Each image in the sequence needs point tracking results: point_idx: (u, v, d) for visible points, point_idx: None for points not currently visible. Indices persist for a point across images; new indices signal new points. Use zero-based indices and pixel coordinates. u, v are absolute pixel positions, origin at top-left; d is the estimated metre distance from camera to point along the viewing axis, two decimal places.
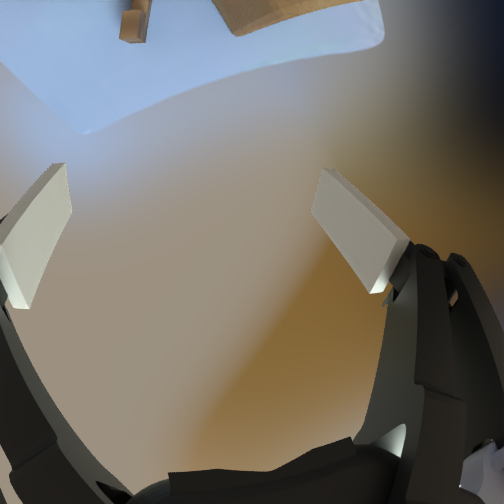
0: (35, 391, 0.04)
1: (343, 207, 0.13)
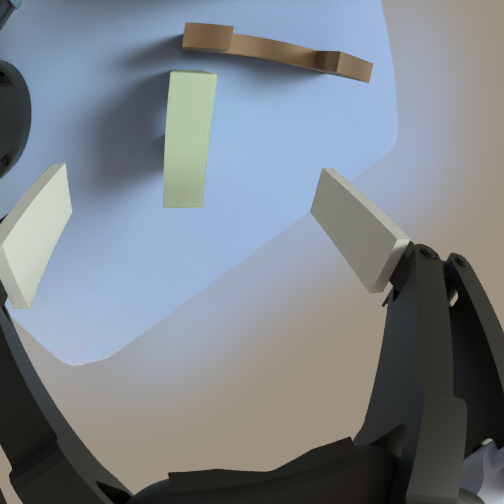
0: (35, 391, 0.04)
1: (343, 207, 0.13)
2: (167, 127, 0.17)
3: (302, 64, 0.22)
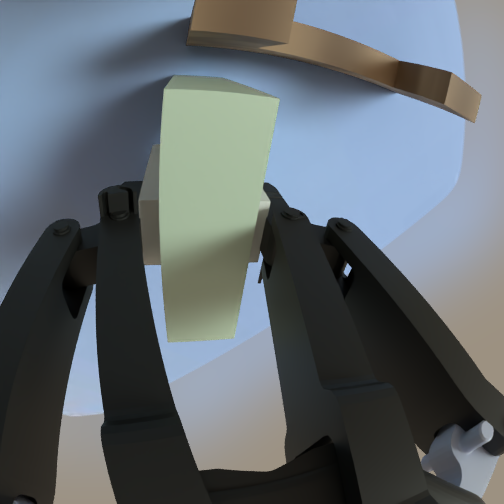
0: None
1: None
2: (163, 220, 0.08)
3: (379, 79, 0.14)
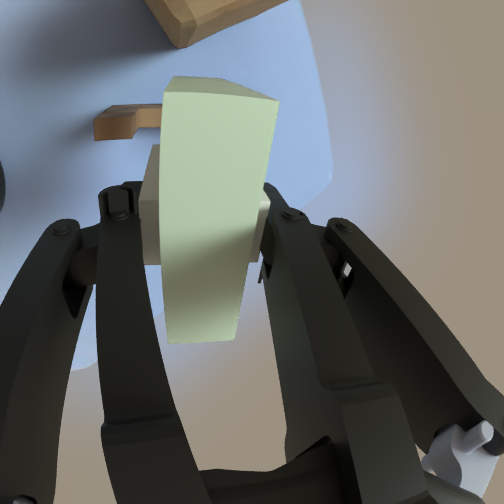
0: None
1: None
2: (163, 222, 0.08)
3: None
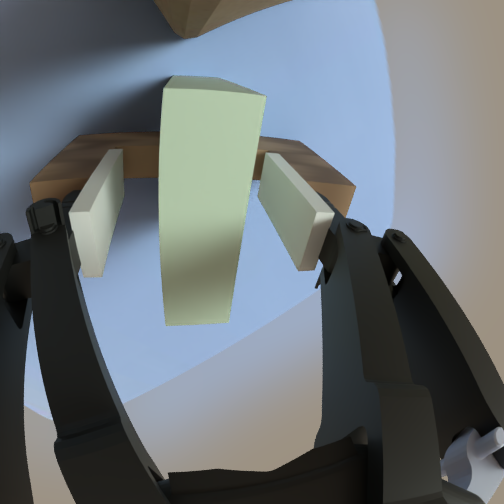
0: (102, 367, 0.05)
1: (279, 187, 0.13)
2: (162, 206, 0.09)
3: None
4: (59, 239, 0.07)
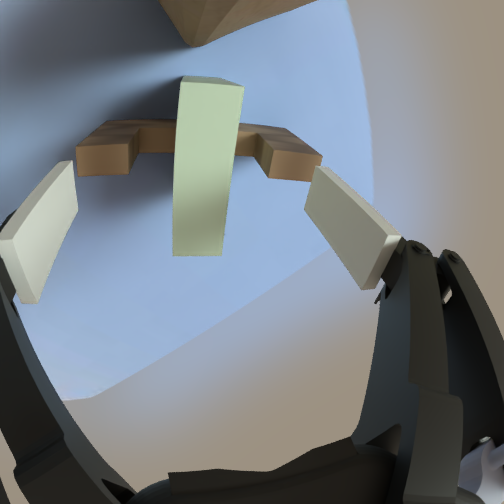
0: (42, 387, 0.04)
1: (336, 204, 0.13)
2: (176, 157, 0.13)
3: (238, 153, 0.21)
4: None
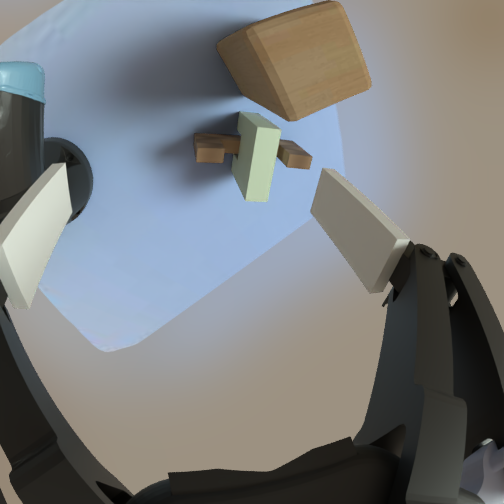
0: (35, 391, 0.04)
1: (343, 207, 0.13)
2: (253, 156, 0.33)
3: None
4: None
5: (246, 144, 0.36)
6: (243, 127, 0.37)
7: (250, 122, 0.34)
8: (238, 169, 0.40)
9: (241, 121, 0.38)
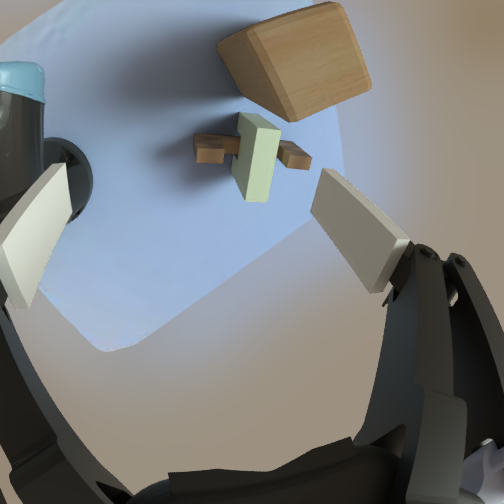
0: (35, 391, 0.04)
1: (343, 207, 0.13)
2: (253, 157, 0.33)
3: None
4: None
5: (246, 145, 0.36)
6: (243, 128, 0.37)
7: (250, 123, 0.34)
8: (238, 170, 0.40)
9: (241, 122, 0.38)
